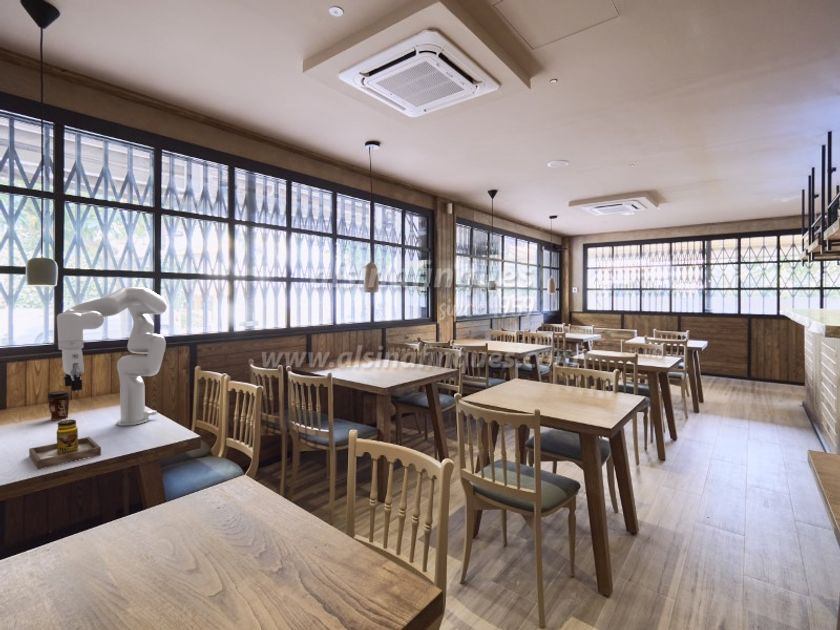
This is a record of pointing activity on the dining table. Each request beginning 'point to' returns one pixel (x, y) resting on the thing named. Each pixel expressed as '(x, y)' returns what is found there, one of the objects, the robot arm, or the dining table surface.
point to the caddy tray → (44, 460)
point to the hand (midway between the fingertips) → (73, 387)
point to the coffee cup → (59, 404)
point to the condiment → (67, 438)
